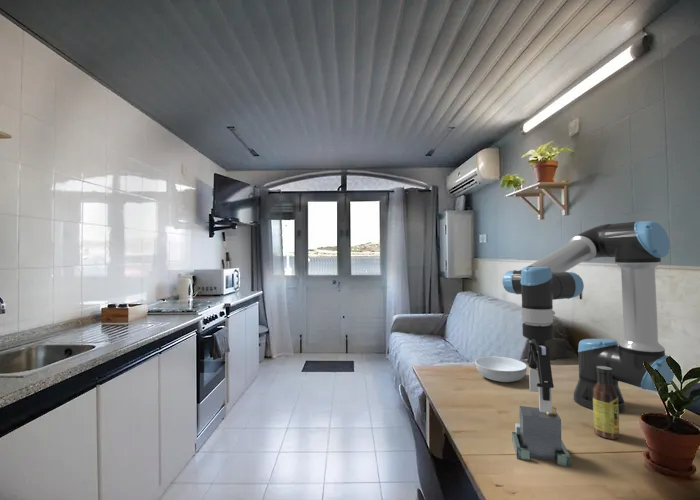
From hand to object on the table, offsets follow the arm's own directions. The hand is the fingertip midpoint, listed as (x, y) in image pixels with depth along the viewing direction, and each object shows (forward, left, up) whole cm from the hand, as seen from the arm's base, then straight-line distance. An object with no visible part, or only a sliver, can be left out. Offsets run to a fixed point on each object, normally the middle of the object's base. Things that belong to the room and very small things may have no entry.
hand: (540, 401), depth 95 cm
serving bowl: (+4, -60, -14) cm, 61 cm away
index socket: (0, 0, -14) cm, 14 cm away
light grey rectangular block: (+2, -6, -14) cm, 15 cm away
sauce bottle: (-21, -17, -14) cm, 30 cm away
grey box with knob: (0, 0, -14) cm, 14 cm away
